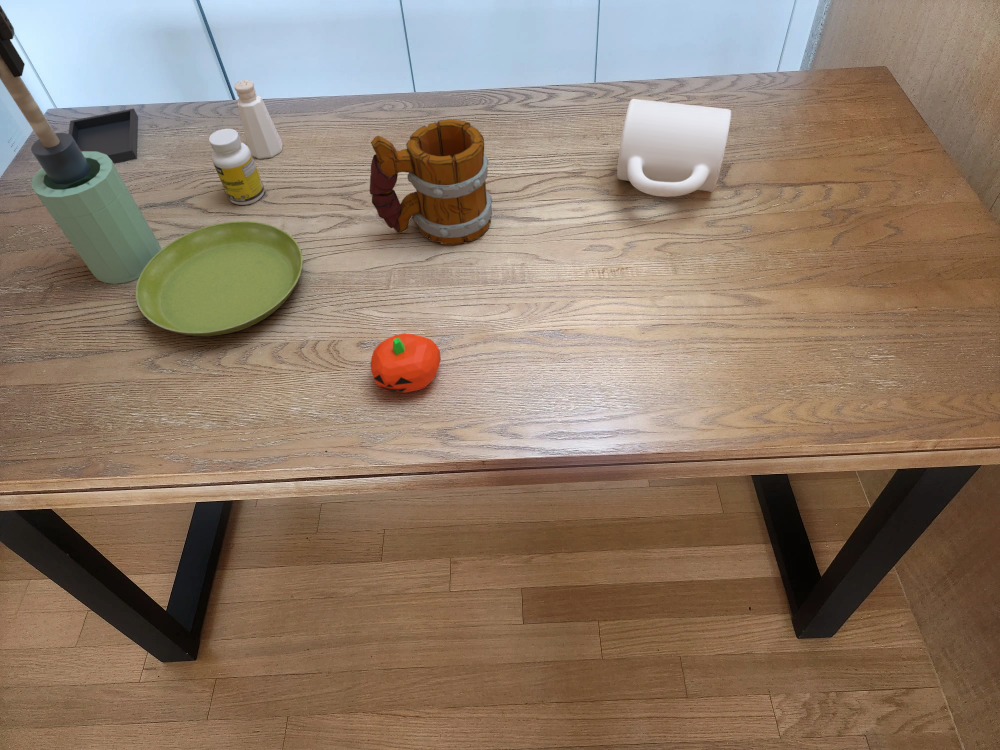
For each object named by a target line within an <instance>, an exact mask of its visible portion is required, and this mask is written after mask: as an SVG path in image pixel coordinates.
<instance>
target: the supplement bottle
mask: <svg viewBox="0 0 1000 750" xmlns="http://www.w3.org/2000/svg"><path fill="white" fill-rule="evenodd" d="M208 141H209V144H210V147H211V149H212V153H211V161H212V164H213V167H214V168H215V170H216V174H217V176H218V178H219V180H220V182H221V185H222V186H223V187H222V188H223V189H224V191H225V194H226V196H227V198H228V199H229V201H230V202H231V203H233V204H235V205H240V206H244V205H245V206H247V205H250V204H254V203H256V202H258V201H259V200H260V199H262V198H263V196H264V194H265V186H264V183H263V180H262V178H261V175H260V173H259V170H258V167H257V164H256V162H255V160H254V156H252V154H251V152H250V149H249V148H248V145H247V144H245V143H244V142H242V140H241V137H240V134H239V132H238V131H237V130H235V129H233V128H221V129H218V130H215V131H214V132H212V133H211V134H210V135H209V138H208Z"/></svg>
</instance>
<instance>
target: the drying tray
mask: <svg viewBox="0 0 1000 750" xmlns="http://www.w3.org/2000/svg"><path fill="white" fill-rule="evenodd" d="M68 134H70V135H71V136H72V137H73V139H74V140H75V142H76V144H77V145H78V147H79V149H80V150H81V151H96V152H100V153H103V154H106V155H107V156H108V157H109V158H110V159H111V160H112V162H113V163H114V165H115V164H119V163H120V164H121V163H124V162H130V161H134V160H137V159H138V137H139V116H138V114H137V111H136V110H135V108H129V109H124V110H119V111H114V112H108V113H103V114H98V115H93V116H92V115H91V116H88V117H82V118H77V119H72V120H69V126H68Z"/></svg>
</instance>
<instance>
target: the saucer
mask: <svg viewBox="0 0 1000 750" xmlns="http://www.w3.org/2000/svg"><path fill="white" fill-rule="evenodd" d="M161 249H162V250H160V251H159V252H158V253H157V254H156V255H155V256H154V257H153V258H152V259H151V260H150V261H149V262H148V264H147V265H146V266H145V268H144V269H143V271H142V272H141V274H140V277H139V278H138V279H137V282H136V287H135V301H136V304H137V307H138V309H139V310H140V312H141V314H142V315H143V316H144V317H145V318H146V320H148V321H149V322H150V323H152V324H154V325H156V326H158V327H159V328H162V329H164V330H167V331H170V332H173V333H176V334H180V335H186V336H191V337H192V336H194V337H211V336H212V337H213V336H220V335H227V334H232V333H235V332H239V331H242V330H245V329H247V328H250V327H251V326H254V325H256V324H258V323H260V322H261V321H263V320H264V319H266V318H268V317H269V316H270V315H272V314H273V313H274V312H276V311H277V310H278V309H279V308H280V307H281V306H283V304H284V303H285V302H286V301H287V300H288V299H289V297H290V296H291V295H292V293H293V291H294V290H295V288H296V287H297V284H298V282H299V280H300V277H301V274H302V270H303V266H304V259H303V252H302V250H301V247H300V245H299V243H298V242H297V241H296V239H295V238H294V237H293V236H292V235H291V234H290V233H288V232H287V231H285V230H284V229H281V228H280V227H277V226H275V225H273V224H268V223H264V222H260V221H259V222H258V221H248V220H247V221H246V220H244V221H243V220H242V221H241V220H237V221H228V222H221V223H216V224H211V225H207V226H203V227H202V228H201V227H200V228H198V229H195V230H193V231H190V232H188V233H186V234H184V235H182V236H180V237H178V238H177V239H175V240H173V241H172V242H170V243H169V244H167V245H165V247H163V248H161Z"/></svg>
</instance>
